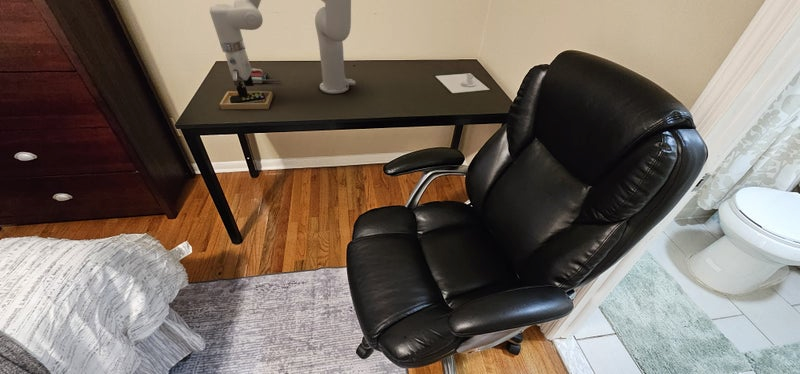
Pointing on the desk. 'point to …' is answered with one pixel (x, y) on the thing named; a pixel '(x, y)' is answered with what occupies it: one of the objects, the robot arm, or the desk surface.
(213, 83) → the desk surface
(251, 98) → the remote control
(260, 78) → the walkie-talkie
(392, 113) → the desk surface
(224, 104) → the tray
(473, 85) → the teacup and saucer
